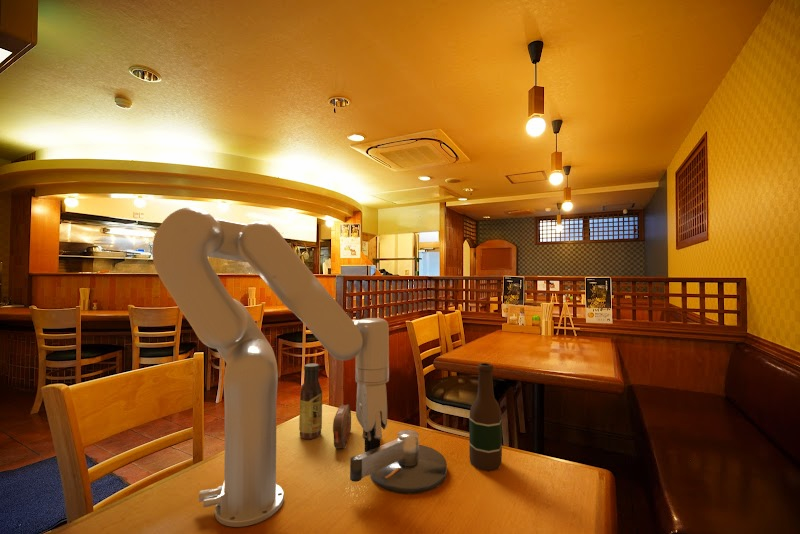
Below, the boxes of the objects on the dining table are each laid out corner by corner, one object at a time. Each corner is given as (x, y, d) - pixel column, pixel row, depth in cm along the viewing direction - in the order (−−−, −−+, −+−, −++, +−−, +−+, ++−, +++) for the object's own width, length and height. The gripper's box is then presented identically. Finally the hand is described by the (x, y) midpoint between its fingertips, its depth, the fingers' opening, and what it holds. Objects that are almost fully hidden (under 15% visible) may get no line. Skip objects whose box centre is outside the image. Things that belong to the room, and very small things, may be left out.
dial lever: (408, 452, 88) (408, 427, 88) (423, 460, 84) (423, 434, 84) (344, 483, 75) (344, 454, 75) (358, 494, 71) (358, 463, 71)
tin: (343, 454, 92) (343, 421, 92) (331, 454, 92) (331, 421, 92) (352, 428, 107) (352, 400, 107) (341, 428, 107) (341, 400, 107)
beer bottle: (489, 476, 82) (489, 370, 82) (462, 462, 88) (462, 363, 88) (508, 464, 87) (508, 364, 87) (481, 452, 93) (481, 358, 93)
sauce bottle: (316, 441, 99) (316, 368, 99) (295, 439, 100) (295, 367, 100) (325, 431, 105) (326, 362, 105) (305, 429, 106) (306, 361, 107)
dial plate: (381, 501, 73) (381, 490, 73) (361, 458, 90) (361, 449, 90) (460, 484, 79) (460, 474, 79) (428, 446, 96) (428, 438, 96)
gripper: (348, 367, 87) (349, 443, 87) (364, 385, 73) (364, 476, 73) (378, 364, 89) (378, 438, 89) (399, 381, 75) (399, 469, 75)
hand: (372, 455), depth 81 cm, fingers closed
